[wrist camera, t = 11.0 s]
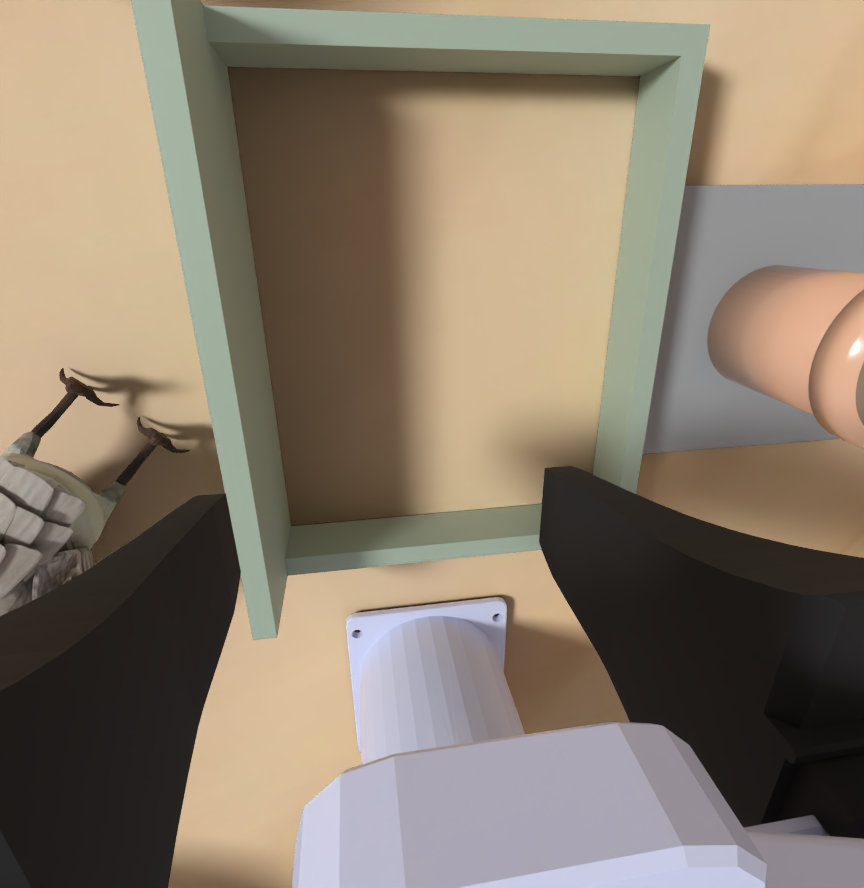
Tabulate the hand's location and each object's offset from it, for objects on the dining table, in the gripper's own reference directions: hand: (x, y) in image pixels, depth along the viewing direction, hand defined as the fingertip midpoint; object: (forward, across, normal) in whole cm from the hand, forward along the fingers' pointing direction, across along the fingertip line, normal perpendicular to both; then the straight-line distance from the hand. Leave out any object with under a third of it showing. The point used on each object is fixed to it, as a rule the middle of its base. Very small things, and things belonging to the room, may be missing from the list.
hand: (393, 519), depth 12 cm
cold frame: (+10, -3, -2) cm, 11 cm away
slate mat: (+10, -17, -2) cm, 20 cm away
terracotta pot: (+10, -17, -2) cm, 19 cm away
